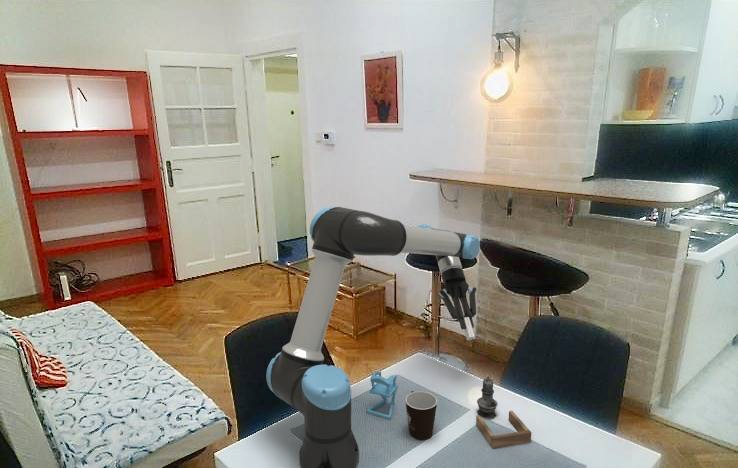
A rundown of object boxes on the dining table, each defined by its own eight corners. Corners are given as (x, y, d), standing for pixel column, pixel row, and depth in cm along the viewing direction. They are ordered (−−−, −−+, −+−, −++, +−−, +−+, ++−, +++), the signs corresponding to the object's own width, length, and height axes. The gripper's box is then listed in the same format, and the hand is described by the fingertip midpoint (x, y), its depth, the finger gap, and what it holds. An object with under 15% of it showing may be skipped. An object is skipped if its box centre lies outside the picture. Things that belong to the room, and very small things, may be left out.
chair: (401, 405, 137) (401, 369, 135) (389, 420, 130) (389, 382, 128) (378, 399, 141) (378, 363, 138) (366, 413, 134) (365, 376, 131)
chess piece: (477, 406, 136) (478, 369, 134) (497, 409, 134) (499, 372, 132) (475, 417, 131) (477, 379, 128) (496, 421, 129) (498, 383, 126)
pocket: (475, 425, 127) (476, 415, 126) (511, 419, 129) (512, 410, 129) (492, 448, 118) (492, 438, 117) (530, 442, 120) (531, 432, 119)
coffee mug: (435, 444, 119) (436, 411, 117) (403, 440, 121) (403, 407, 119) (438, 418, 131) (438, 387, 128) (408, 415, 132) (408, 384, 130)
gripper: (466, 275, 158) (486, 340, 145) (430, 278, 155) (447, 344, 143) (473, 265, 151) (494, 331, 139) (436, 268, 149) (454, 336, 136)
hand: (470, 338), depth 141 cm, fingers closed
